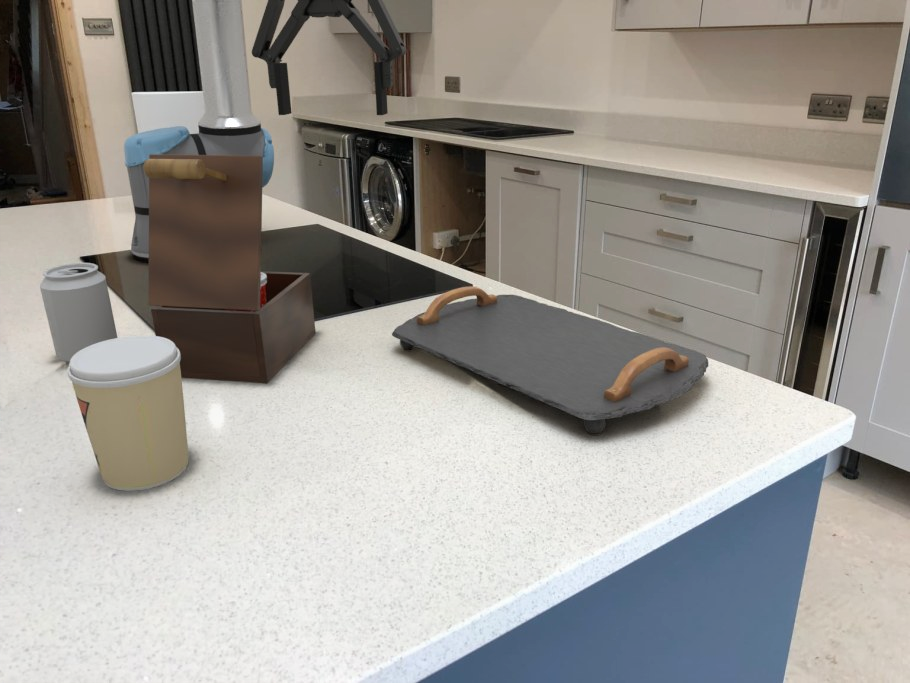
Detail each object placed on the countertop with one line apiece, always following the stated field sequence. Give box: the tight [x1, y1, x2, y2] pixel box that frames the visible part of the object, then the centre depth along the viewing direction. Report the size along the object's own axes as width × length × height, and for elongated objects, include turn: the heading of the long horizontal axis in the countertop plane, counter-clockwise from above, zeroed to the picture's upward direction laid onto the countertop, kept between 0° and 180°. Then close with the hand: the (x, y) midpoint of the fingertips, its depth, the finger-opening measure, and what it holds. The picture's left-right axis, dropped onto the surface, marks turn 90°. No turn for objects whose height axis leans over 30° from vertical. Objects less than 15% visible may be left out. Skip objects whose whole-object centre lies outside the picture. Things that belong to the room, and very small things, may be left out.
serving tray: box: [391, 286, 709, 436], centre depth 90 cm, size 39×23×6 cm, turn 42°
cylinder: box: [130, 90, 205, 134], centre depth 175 cm, size 17×17×28 cm
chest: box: [150, 270, 317, 385], centre depth 94 cm, size 17×14×9 cm
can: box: [39, 262, 119, 365], centre depth 94 cm, size 8×8×12 cm
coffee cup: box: [67, 334, 189, 492], centre depth 68 cm, size 9×9×12 cm
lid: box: [144, 154, 263, 311], centre depth 81 cm, size 17×14×8 cm
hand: (333, 114), depth 98 cm, fingers open, 13 cm apart
